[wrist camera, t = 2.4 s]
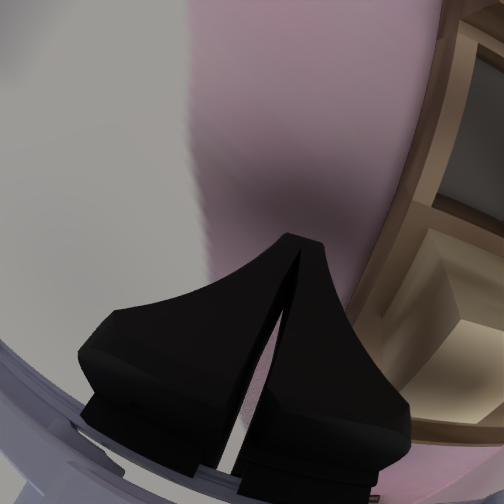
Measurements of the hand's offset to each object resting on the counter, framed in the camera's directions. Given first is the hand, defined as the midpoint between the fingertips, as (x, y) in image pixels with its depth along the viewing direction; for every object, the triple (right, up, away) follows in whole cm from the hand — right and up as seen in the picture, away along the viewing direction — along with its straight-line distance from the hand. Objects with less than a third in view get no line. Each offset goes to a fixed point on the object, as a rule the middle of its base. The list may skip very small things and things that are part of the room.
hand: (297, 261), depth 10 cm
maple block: (+6, -1, 0) cm, 6 cm away
